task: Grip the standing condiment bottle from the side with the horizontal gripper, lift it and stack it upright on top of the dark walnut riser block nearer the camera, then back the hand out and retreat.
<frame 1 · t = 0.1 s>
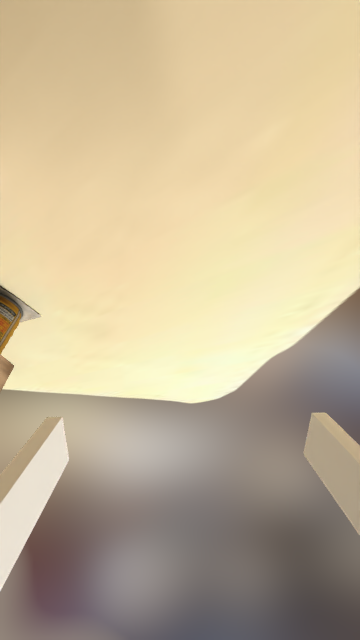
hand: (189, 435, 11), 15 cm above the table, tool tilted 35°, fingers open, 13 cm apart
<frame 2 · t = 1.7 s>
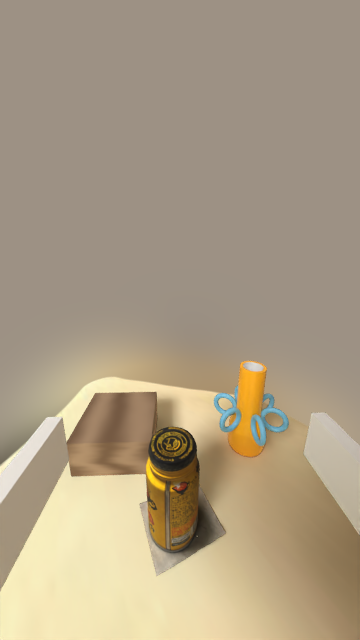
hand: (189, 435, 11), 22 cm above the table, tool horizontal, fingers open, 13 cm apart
condiment: (180, 520, 26), on the table
riser: (121, 442, 37), on the table
cylinder: (244, 444, 37), on the table
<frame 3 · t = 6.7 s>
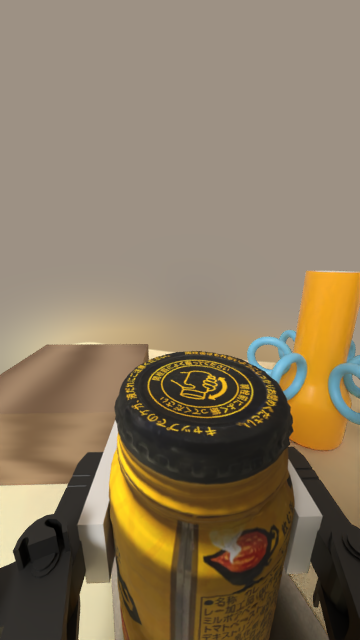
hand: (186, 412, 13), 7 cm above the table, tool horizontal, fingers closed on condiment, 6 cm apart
condiment: (209, 608, 10), on the table, touching gripper
riser: (82, 423, 21), on the table
cylinder: (304, 428, 21), on the table
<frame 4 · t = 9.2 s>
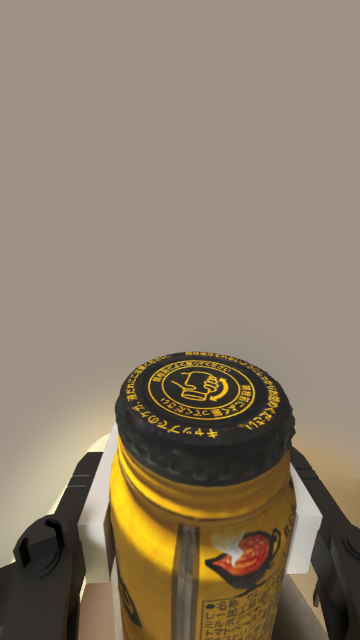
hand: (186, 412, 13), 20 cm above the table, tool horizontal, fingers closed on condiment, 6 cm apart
condiment: (210, 609, 10), point 13 cm above the table, touching gripper
riser: (167, 635, 17), on the table
when the fingers open (14 cm above the table, at t = 11.5 s): condiment drops 2 cm, resting on riser.
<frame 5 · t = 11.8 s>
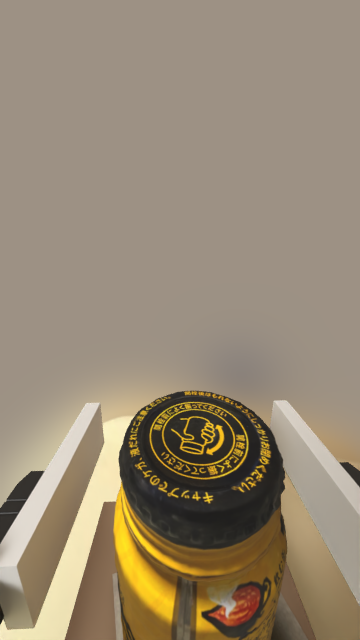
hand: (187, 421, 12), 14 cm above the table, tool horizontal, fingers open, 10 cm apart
condiment: (208, 633, 10), point 6 cm above the table, touching riser
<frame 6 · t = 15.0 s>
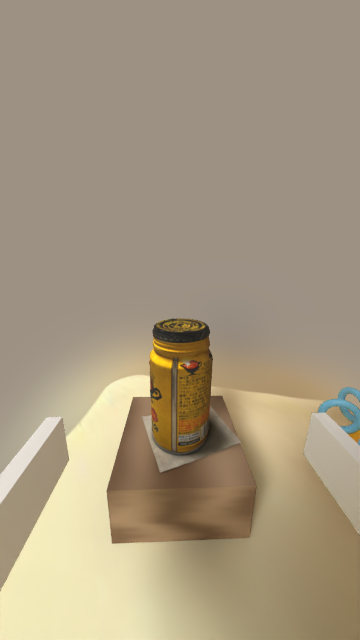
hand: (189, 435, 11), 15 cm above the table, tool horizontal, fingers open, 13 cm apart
condiment: (188, 432, 23), point 6 cm above the table, touching riser
riser: (179, 474, 24), on the table
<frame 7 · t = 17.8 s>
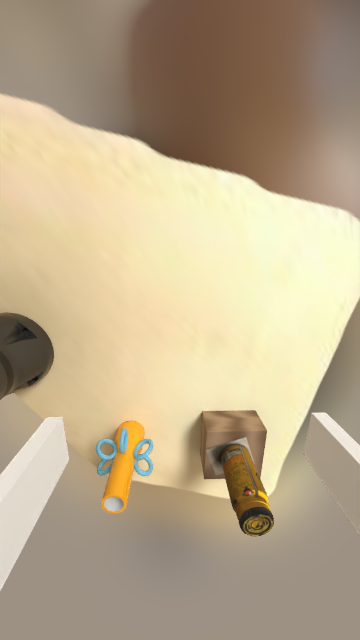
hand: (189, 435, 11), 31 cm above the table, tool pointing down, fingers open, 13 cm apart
condiment: (230, 455, 43), point 6 cm above the table, touching riser
riser: (227, 432, 49), on the table
cylinder: (131, 430, 48), on the table
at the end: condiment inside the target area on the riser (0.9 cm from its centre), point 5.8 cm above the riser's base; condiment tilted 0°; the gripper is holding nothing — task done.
